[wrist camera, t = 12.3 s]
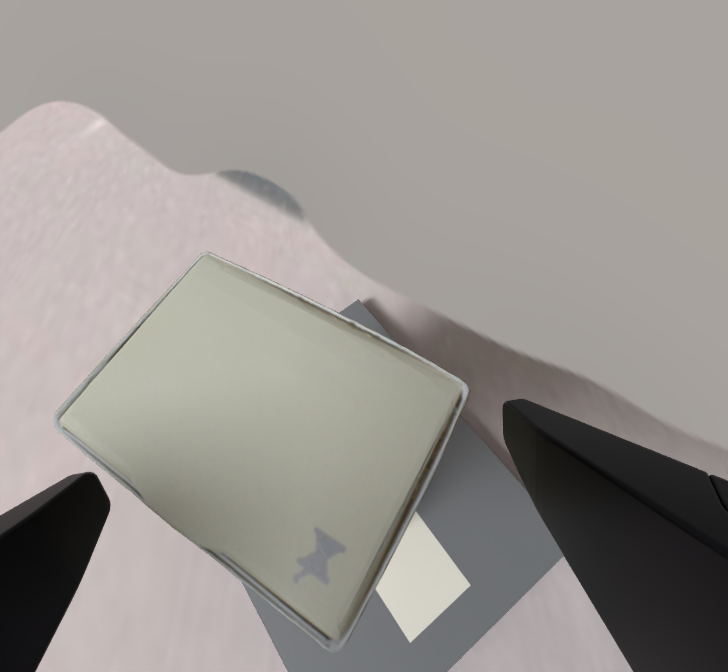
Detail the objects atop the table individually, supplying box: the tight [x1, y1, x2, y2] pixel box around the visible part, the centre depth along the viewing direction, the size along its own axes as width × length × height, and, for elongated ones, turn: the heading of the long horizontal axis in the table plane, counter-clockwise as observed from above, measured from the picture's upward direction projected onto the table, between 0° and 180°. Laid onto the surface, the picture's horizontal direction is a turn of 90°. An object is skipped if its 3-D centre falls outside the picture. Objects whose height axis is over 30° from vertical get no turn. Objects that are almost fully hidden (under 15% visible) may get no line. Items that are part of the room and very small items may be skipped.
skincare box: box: [54, 252, 470, 654], centre depth 12 cm, size 6×4×12 cm
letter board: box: [242, 299, 564, 672], centre depth 17 cm, size 15×12×1 cm
